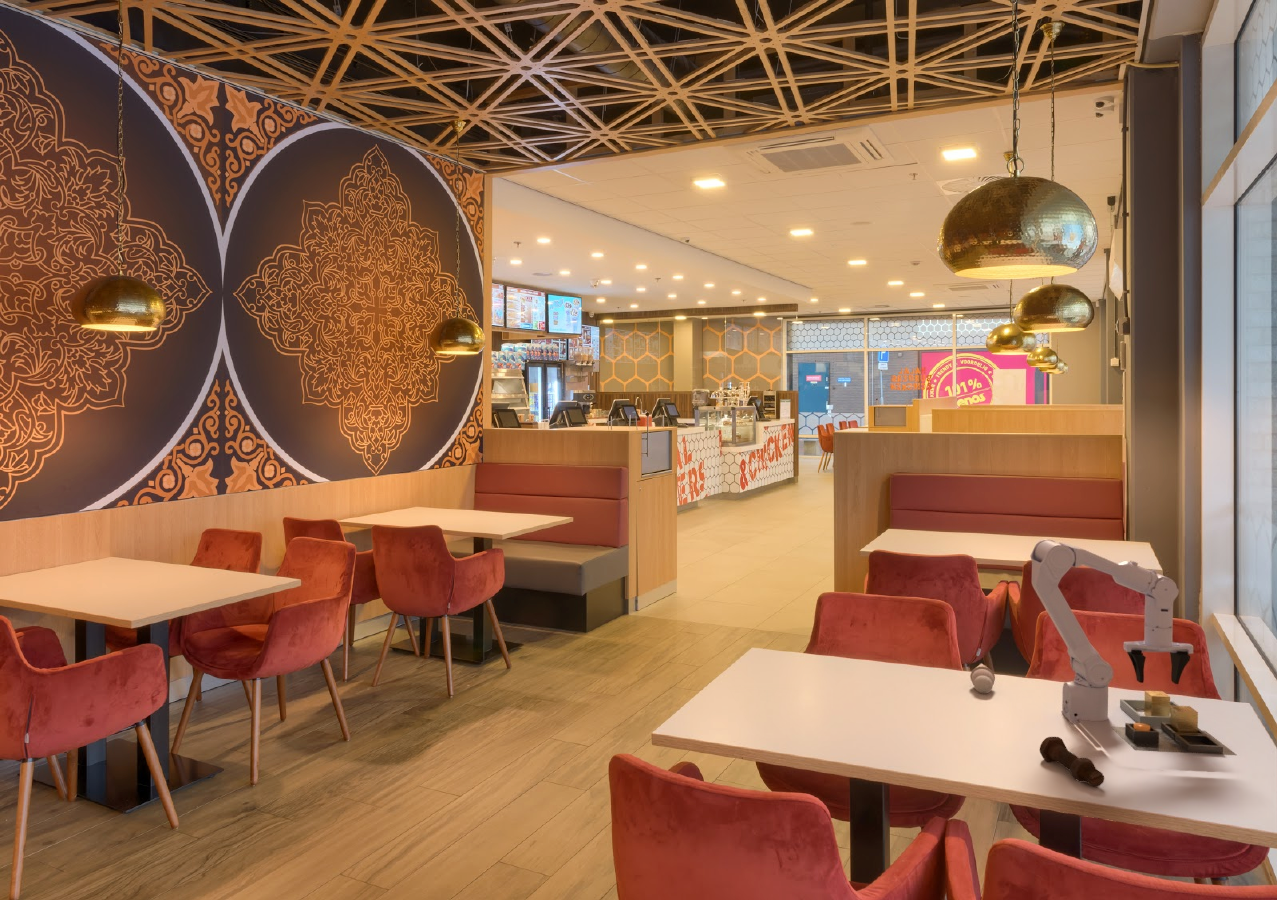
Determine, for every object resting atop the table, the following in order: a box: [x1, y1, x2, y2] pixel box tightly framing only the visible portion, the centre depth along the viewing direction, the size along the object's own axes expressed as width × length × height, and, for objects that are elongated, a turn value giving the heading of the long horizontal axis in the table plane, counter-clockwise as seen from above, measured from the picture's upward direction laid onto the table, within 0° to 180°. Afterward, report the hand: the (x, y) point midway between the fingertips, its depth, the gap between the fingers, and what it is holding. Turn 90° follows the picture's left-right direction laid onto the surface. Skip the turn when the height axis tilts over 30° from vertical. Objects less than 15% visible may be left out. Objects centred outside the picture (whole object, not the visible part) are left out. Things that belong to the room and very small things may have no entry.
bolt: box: [1039, 736, 1105, 788], centre depth 179 cm, size 6×5×15 cm
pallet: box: [1110, 722, 1237, 756], centre depth 193 cm, size 20×14×4 cm
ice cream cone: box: [969, 663, 996, 695], centre depth 234 cm, size 6×6×15 cm
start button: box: [1134, 722, 1150, 731], centre depth 194 cm, size 3×3×2 cm
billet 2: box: [1170, 705, 1199, 733], centre depth 196 cm, size 4×4×6 cm
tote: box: [1119, 698, 1180, 727], centre depth 207 cm, size 12×12×3 cm
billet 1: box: [1143, 690, 1171, 717], centre depth 207 cm, size 4×4×6 cm
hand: (1157, 682), depth 207 cm, fingers open, 7 cm apart
